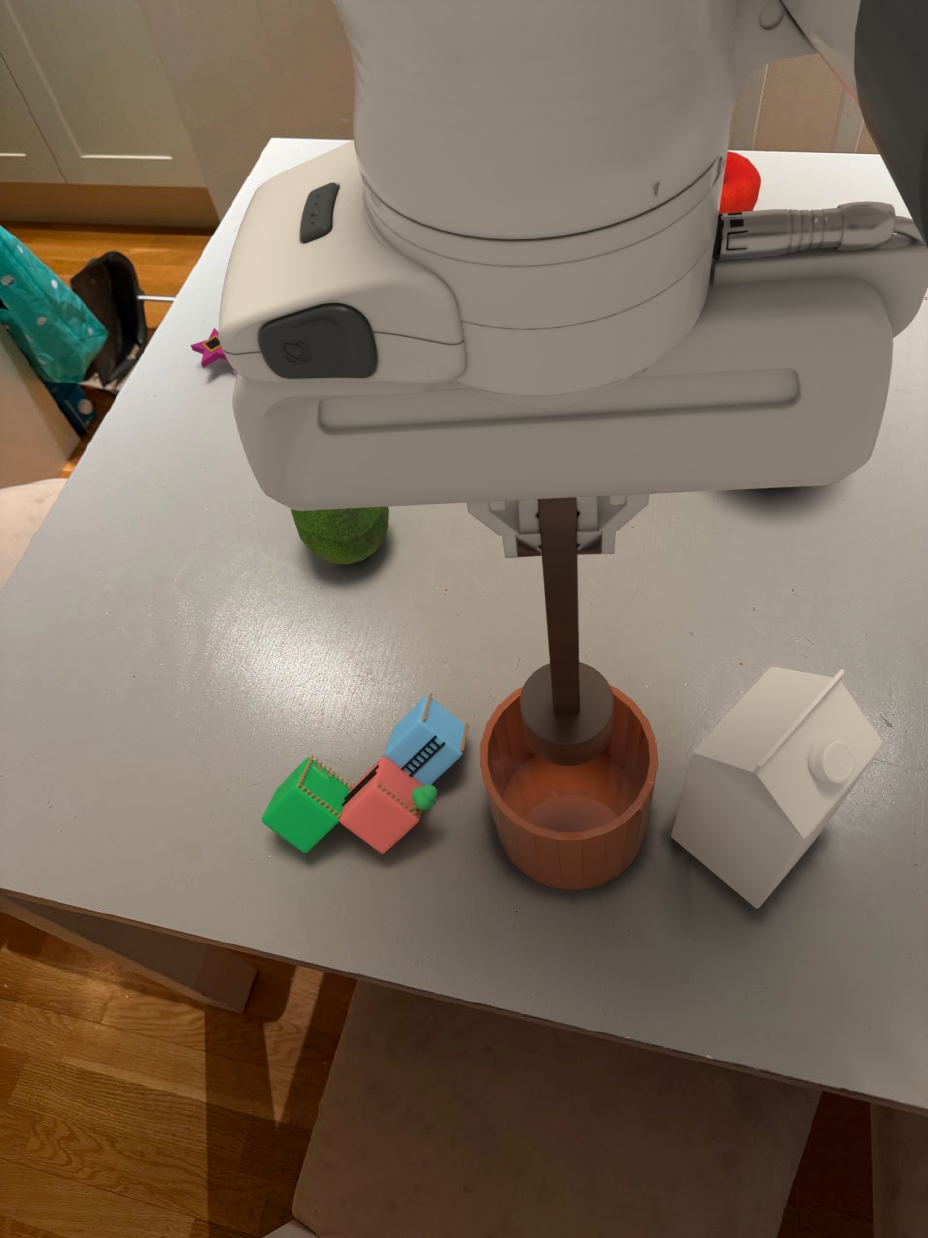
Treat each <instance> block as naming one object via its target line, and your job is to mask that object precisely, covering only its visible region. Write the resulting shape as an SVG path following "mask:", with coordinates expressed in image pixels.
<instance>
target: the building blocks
mask: <svg viewBox="0 0 928 1238" xmlns="http://www.w3.org/2000/svg"><path fill="white" fill-rule="evenodd" d="M433 696H434V693H433V692H431V693H429V694H427V695H424V697H422V699H420V700H419V701H418V702H417V703H416V704H415V705H414V706H413V707H412V708H411V709H410V710H409V711H408V712H407V713H406V714H405V715H404V716H403V717H402V718H401V719H400V720H399V721H398V722H397V723H396V724H395V725H394V726H393V729H392V730H391V733H390V737H389V738H388V742H387V745H386V747H385V751H384V756H382V757H381V758H380V759H379V760H378V761H377V762H376V763H375V764H374V765H373V766H371V768H370V769H369V770H368V771H367V772H366V773H365V774H363V776H362V777H361V778H360V779H359V780H357V782H356V783H354V784H352V783H351V784H350V785H348V784H349V782H350V781H348V780H346V781H345V782H343V781H344V780H345V777H342V778H341V779H340V777H341V775H340V774H337V772H336V771H335V770H334V771H332V768H331V767H329V768H328V765H327V764H324V762H323V761H320V759H319V758H315V755H314V754H312V755H311V756H309V757H308V756H307V757H306V758H305V759H304V760H303V761H301V763H300V764H299V765H298V766H297V767H296V768H295V769H294V770H293V771H292V772H291V773H290V774H289V775H288V776H287V777H286V778H285V779H284V781H283V782H282V783H281V784H279V786H278V787H277V788H276V789H275V791H274V793H273V795H272V797H271V799H270V801H269V802H268V805H267V807H266V809H265V811H264V813H263V814H262V817H261V822H262V824H264V825H265V826H266V827H267V828H269V829H270V830H271V831H273V832H274V833H275V834H277V835H278V836H279V837H281V838H282V839H284V840H285V841H286V842H288V843H289V844H291V845H292V846H293V847H295V848H296V849H297V850H299V852H302V853H303V854H307V853H309V852H310V851H311V850H312V849H314V847H316V845H317V844H318V843H319V842H320V841H321V840H322V839H323V838H324V837H325V836H326V835H327V834H328V833H329V832H330V831H332V830H333V829H334V827H336V825H338V824H339V823H340V824H341V825H342V826H344V827H345V828H346V829H347V830H349V831H350V832H352V833H353V834H354V835H356V836H357V837H358V838H360V839H361V840H362V841H364V842H365V843H366V844H367V845H369V846H371V848H373V849H374V850H375V851H377V852H378V853H380V854H382V855H383V854H385V853H387V852H388V851H389V850H390V849H391V848H392V847H393V846H394V845H395V844H396V843H398V841H400V840H401V839H402V838H403V837H404V836H405V835H406V834H407V833H408V832H409V831H411V830H412V829H413V828H414V827H415V826H416V825H417V824H418V823H419V822H420V818H421V817H422V813H423V811H425V810H426V811H428V810H431V809H433V808H434V807H435V805H436V799H437V797H438V789H437V788H436V787H435V786H434V785H432V784H433V783H435V782H436V781H437V780H438V779H439V778H440V777H441V776H442V775H443V774H444V773H445V772H447V770H449V769H450V768H451V767H452V765H454V764H455V763H456V762H457V761H458V760H459V759H460V758H461V757H462V756H463V753H464V751H465V747H466V744H467V743H466V742H467V739H468V737H467V736H468V733H469V732H468V730H469V727H470V722H469V721H467V722H466V723H463V722H462V721H461V720H460V719H459V718H458V717H456V716H455V715H454V714H453V713H451V712H450V711H449V710H448V709H446V708H445V707H444V706H443V705H441V704H440V703H439V702H437V701H436V700H435V699H434V697H433ZM314 758H315V759H314ZM318 761H320V762H318ZM323 764H324V765H323ZM322 765H323V766H322ZM327 768H328V769H327ZM331 771H332V772H331ZM336 774H337V775H336Z"/></svg>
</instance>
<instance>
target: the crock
mask: <svg viewBox="0 0 928 1238" xmlns="http://www.w3.org/2000/svg"><path fill="white" fill-rule="evenodd" d="M609 685H610V687H611V689H612V693H613V698H614V712H613V729H612V735H611V738H610V740H609V742H608V744H607V746H606V747H605V749H604V750H603V751H602V752H601V753H600V754H599V755H598V756H597V757H595V758H594V759H592V760H591V761H588V762H586V763H583V764H580V765H575V766H561V765H556V764H553V763H550V762H548V761H546V760H544V759H542V758H541V757H539V756H538V755H537V754H536V753H535V752H534V751H533V750H532V749H531V747H530V746H529V744H528V743H527V741H526V738H525V735H524V731H523V724H522V718H521V711H520V695H521V691H522V689H523V686H520V687H519V688H517V689H515V690H514V691H512V693H510V694H508V696H507V697H506V698H504V700H502V701H501V703H499V704H498V706H497V707H496V708H495V710H494V711H493V713H492V714H491V715H490V717H489V719H488V721H487V722H486V723H485V727H484V730H483V732H482V733H483V734H482V737H481V740H480V743H479V769H480V772H481V778H482V781H483V784H484V788H485V792H486V795H487V799H488V803H489V807H490V810H491V811H490V812H491V814H492V818H493V821H494V826H495V829H496V832H497V833H496V834H497V837H498V839H499V842H500V843H501V846H502V849H503V850H504V852H505V854H506V855H507V857H508V858H509V859H510V861H511V862H512V863H513V864H514V865H515V866H516V868H518V869H519V870H520V871H521V872H522V873H523V874H524V875H526V876H527V877H529V878H530V879H532V880H534V881H536V882H538V883H540V884H542V885H544V886H547V887H551V888H554V889H559V890H568V891H569V890H571V891H577V890H578V891H579V890H586V889H591V888H595V887H599V886H601V885H604V884H606V883H608V882H609V881H612V880H614V879H615V878H616V877H618V876H619V875H621V874H622V873H623V872H624V871H625V870H627V868H628V867H630V865H631V864H632V863H633V861H634V860H635V859H636V857H637V855H638V854H639V852H640V850H641V848H642V846H643V843H644V841H645V838H646V833H647V828H648V823H649V819H650V813H651V812H650V811H651V807H652V801H653V795H654V790H655V784H656V779H657V775H658V774H657V773H658V768H659V754H658V741H657V739H656V736H655V733H654V731H653V729H652V726H651V723H650V721H649V719H648V718H647V717H646V715H645V714H644V712H643V711H642V709H641V708H640V706H638V704H637V703H636V702H635V701H634V700H632V698H630V697H629V696H628V695H627V694H626V693H624V692H623V691H622V690H621V689H619V688H617V687H616V686H614V685H611V684H609Z"/></svg>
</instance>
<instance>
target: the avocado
mask: <svg viewBox="0 0 928 1238" xmlns="http://www.w3.org/2000/svg"><path fill="white" fill-rule="evenodd" d="M290 513H291V517H292V519H293V522H294V526H295V528H296V531H297V534H298V537H299V539H300V540H301V542H302V543H303V544H304V545H305V547H306V548H307V549H308V550H309V551H311V553H313V554H314V555H315V556H316V557H317V558H320V560H323V561H325V562H327V563H330V564H337V565H352V564H355V563H359V562H363V561H364V560H366V559H367V558H368V557H370V556H371V555H373V554H374V553H375V552H376V551H377V550H378V549H379V548H380V547H381V545H382V544H383V543H384V542H385V539H386V537H387V533H388V529H389V520H390V507H389V506H388V507H367V508H347V509H327V510H312V511H297V510H293V509H291V508H290Z"/></svg>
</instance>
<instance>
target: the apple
mask: <svg viewBox="0 0 928 1238" xmlns="http://www.w3.org/2000/svg"><path fill="white" fill-rule="evenodd" d="M761 185H762V177H761V174H760V173H759V171H758V169H757V167H756V166H755V165H754V164H753V163H752V162H751V161H750V159H749V158H748V157H746V156H743V155H742V154H739V152H734V151H729V150H728V151H727V158H726V165H725V172H724V179H723V187H722V194H721V201H720V208H719V214H723V213H735V212H747V211H754V209H755V207H756V204H757V202H758V200H759V195H760V190H761V187H762V186H761Z"/></svg>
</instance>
